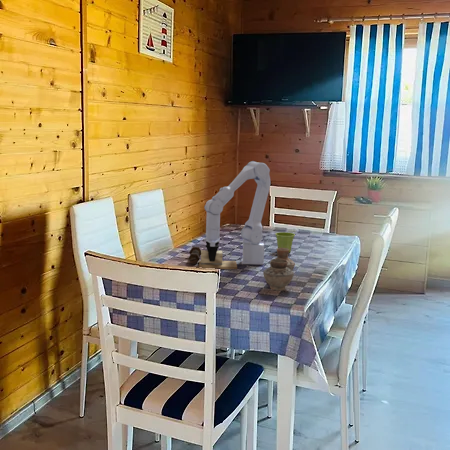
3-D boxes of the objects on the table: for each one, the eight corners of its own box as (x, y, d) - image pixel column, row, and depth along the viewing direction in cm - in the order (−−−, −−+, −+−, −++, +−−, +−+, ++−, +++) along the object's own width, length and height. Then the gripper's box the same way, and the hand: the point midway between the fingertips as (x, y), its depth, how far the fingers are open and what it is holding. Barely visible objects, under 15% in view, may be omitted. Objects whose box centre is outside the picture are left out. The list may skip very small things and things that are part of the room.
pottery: (296, 276, 221) (297, 247, 219) (291, 294, 197) (293, 262, 195) (268, 274, 223) (269, 245, 221) (260, 291, 199) (262, 259, 197)
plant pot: (293, 254, 258) (294, 236, 257) (273, 253, 260) (274, 235, 259) (294, 250, 267) (295, 232, 266) (275, 248, 269) (276, 231, 268)
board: (235, 263, 239) (236, 261, 238) (237, 269, 229) (237, 266, 228) (199, 262, 238) (199, 260, 238) (198, 268, 228) (198, 265, 228)
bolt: (191, 269, 233) (194, 260, 248) (201, 264, 233) (203, 255, 248) (184, 257, 232) (187, 249, 247) (195, 252, 232) (197, 244, 246)
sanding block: (221, 262, 236) (222, 250, 235) (222, 265, 231) (222, 253, 230) (200, 261, 235) (201, 250, 234) (200, 264, 230) (201, 252, 230)
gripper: (203, 224, 237) (202, 255, 240) (203, 231, 223) (202, 263, 226) (219, 225, 238) (218, 255, 240) (220, 231, 223) (219, 264, 226)
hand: (212, 259), depth 233 cm, fingers closed on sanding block, 5 cm apart
